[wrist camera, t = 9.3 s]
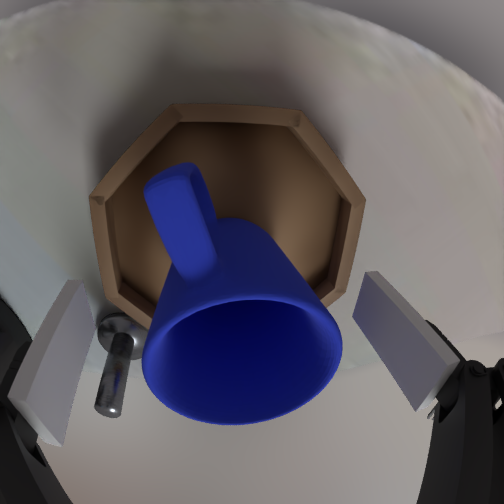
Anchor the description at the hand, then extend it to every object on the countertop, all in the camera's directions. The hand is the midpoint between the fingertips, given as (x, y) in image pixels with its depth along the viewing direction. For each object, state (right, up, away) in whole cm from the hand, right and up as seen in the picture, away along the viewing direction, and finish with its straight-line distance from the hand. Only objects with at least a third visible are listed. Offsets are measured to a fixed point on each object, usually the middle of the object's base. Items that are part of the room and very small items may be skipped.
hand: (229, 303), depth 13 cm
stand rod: (-10, -5, +11) cm, 16 cm away
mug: (-1, +3, +6) cm, 7 cm away
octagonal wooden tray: (-1, +4, +8) cm, 9 cm away
